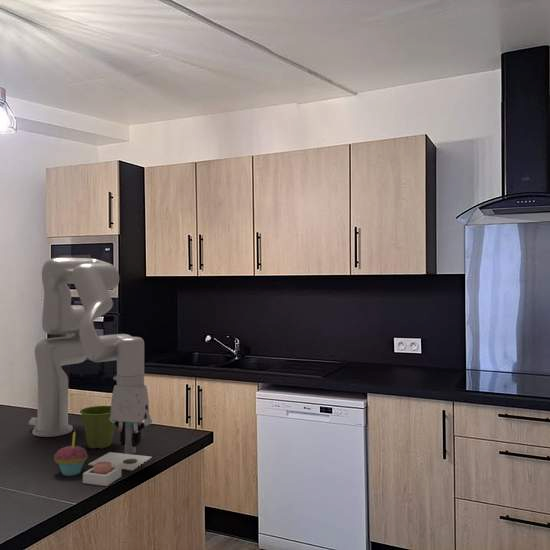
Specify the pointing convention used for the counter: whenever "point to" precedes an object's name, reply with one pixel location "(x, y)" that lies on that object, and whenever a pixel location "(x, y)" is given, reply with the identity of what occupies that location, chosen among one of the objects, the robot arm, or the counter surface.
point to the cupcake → (71, 458)
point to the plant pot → (98, 426)
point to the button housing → (102, 476)
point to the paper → (122, 460)
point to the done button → (102, 468)
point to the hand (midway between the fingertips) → (130, 444)
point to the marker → (129, 438)
